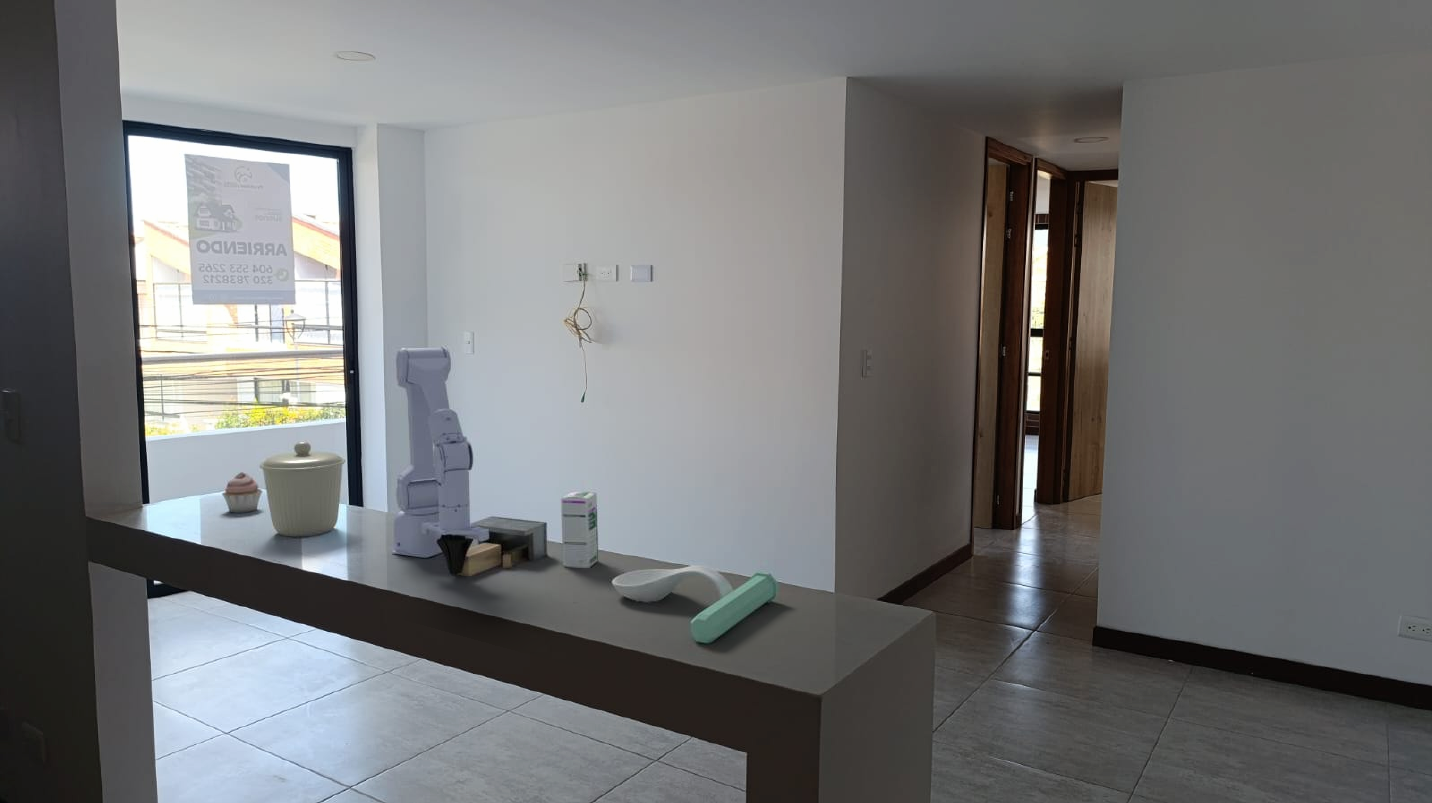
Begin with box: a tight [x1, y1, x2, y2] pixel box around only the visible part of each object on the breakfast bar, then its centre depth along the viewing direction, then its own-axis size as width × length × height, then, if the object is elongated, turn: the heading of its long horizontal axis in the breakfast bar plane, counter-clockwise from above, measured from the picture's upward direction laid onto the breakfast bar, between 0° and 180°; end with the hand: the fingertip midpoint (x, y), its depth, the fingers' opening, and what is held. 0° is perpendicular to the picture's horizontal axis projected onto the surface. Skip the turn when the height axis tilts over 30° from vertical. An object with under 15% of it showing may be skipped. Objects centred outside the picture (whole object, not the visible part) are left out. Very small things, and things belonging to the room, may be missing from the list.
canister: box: [259, 441, 346, 538], centre depth 218 cm, size 18×18×21 cm
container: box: [690, 571, 779, 644], centre depth 159 cm, size 6×6×25 cm
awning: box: [470, 516, 548, 569], centre depth 197 cm, size 14×12×7 cm
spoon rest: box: [611, 565, 734, 603], centre depth 169 cm, size 24×12×7 cm, turn 63°
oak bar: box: [456, 543, 502, 578], centre depth 189 cm, size 4×10×4 cm, turn 155°
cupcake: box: [221, 471, 263, 514], centre depth 240 cm, size 9×9×10 cm
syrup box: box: [560, 491, 599, 569], centre depth 192 cm, size 6×6×14 cm
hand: (455, 573), depth 183 cm, fingers closed
